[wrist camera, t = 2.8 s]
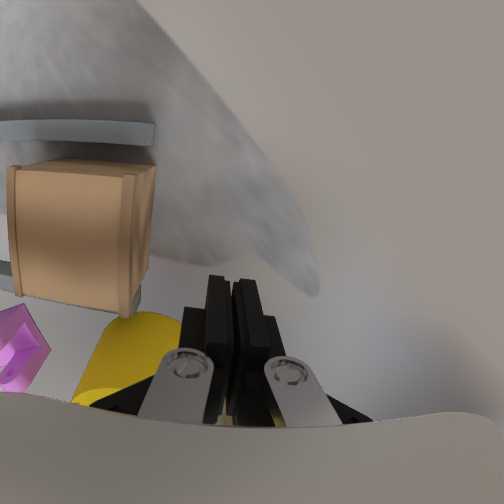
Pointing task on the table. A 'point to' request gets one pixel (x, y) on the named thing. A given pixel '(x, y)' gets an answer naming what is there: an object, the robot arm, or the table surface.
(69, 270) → the block
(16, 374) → the bracket
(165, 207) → the table surface
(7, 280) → the bay
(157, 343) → the yellow roll
